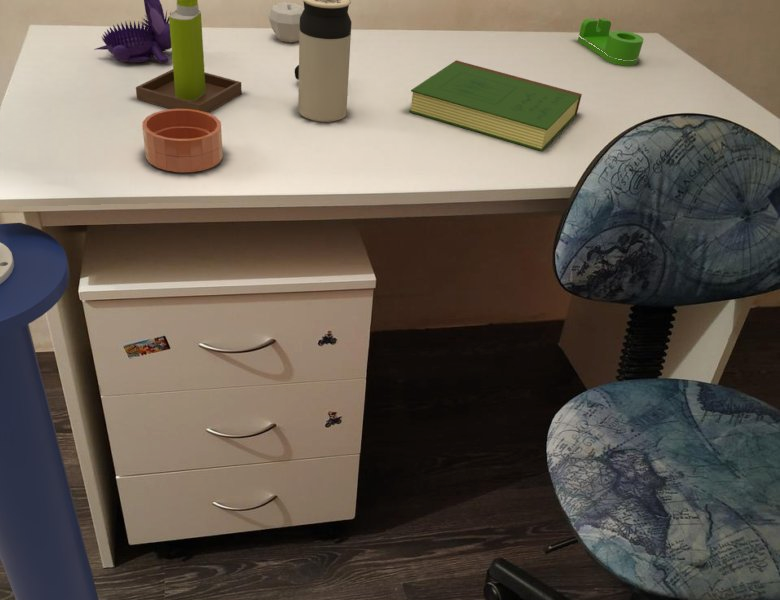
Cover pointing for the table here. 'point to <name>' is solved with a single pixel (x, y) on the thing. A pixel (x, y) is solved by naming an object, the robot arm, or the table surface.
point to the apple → (286, 21)
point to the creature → (141, 37)
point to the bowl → (182, 140)
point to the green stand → (610, 42)
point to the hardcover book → (496, 104)
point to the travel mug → (324, 59)
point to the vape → (187, 50)
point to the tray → (164, 95)
